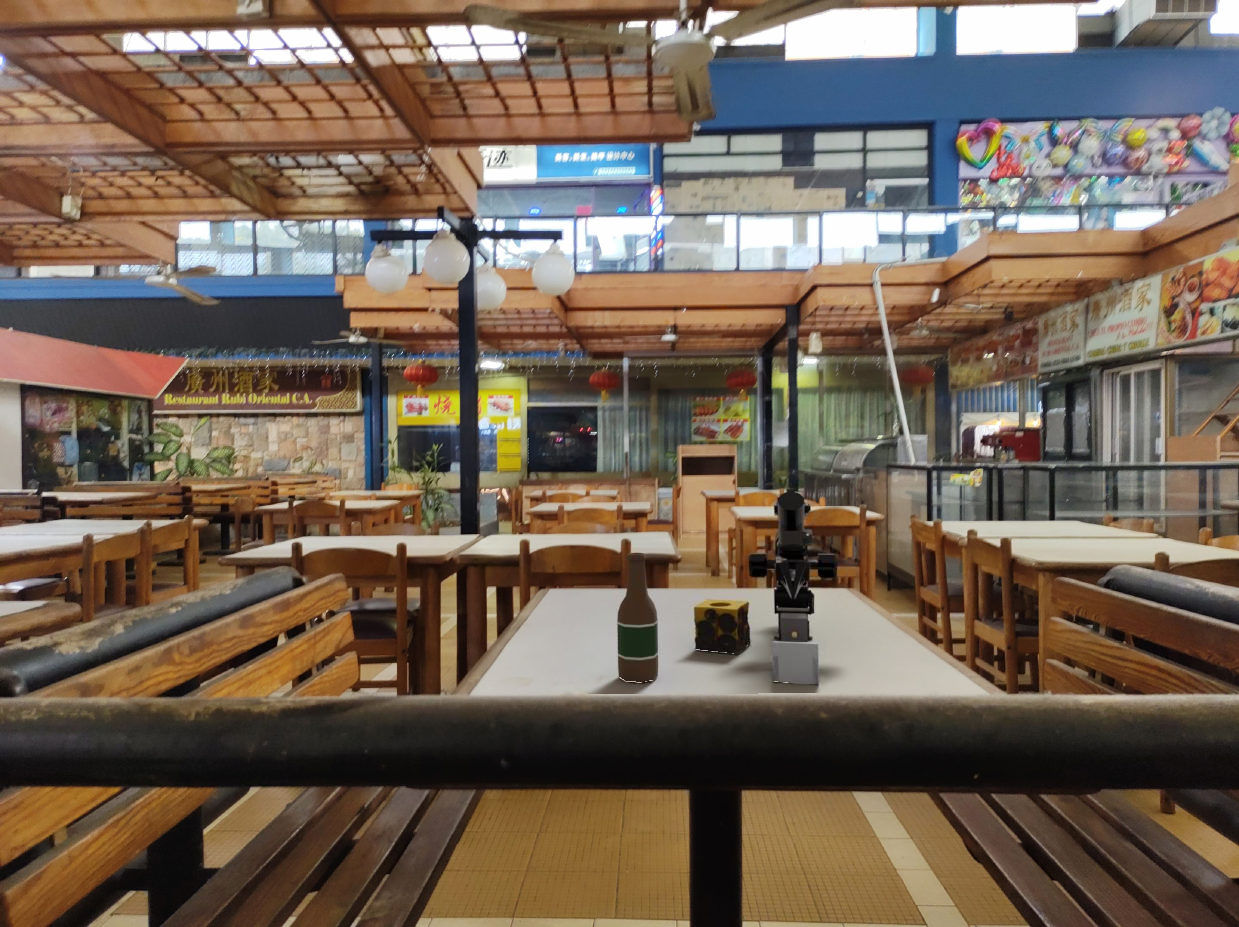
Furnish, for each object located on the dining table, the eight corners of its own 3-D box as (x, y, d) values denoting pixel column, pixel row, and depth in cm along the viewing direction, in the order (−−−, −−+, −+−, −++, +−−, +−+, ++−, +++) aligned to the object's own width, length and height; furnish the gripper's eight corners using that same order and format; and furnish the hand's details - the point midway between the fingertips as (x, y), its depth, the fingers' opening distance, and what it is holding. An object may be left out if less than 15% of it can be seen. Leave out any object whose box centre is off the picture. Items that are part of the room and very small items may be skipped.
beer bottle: (616, 673, 142) (614, 551, 142) (655, 671, 142) (653, 550, 142) (619, 685, 134) (617, 556, 134) (661, 683, 134) (659, 555, 135)
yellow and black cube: (751, 645, 163) (750, 601, 163) (739, 655, 154) (738, 609, 154) (708, 641, 167) (707, 598, 167) (693, 651, 158) (693, 606, 158)
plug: (782, 661, 148) (781, 612, 148) (807, 662, 147) (806, 613, 147) (782, 669, 142) (781, 619, 142) (808, 671, 141) (807, 619, 141)
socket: (773, 669, 143) (773, 630, 143) (816, 670, 141) (815, 631, 141) (773, 682, 134) (772, 641, 134) (818, 684, 132) (818, 642, 132)
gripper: (748, 516, 159) (746, 573, 148) (836, 516, 154) (840, 575, 144) (750, 548, 166) (748, 605, 155) (834, 549, 162) (838, 607, 151)
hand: (793, 597), depth 151 cm, fingers closed
